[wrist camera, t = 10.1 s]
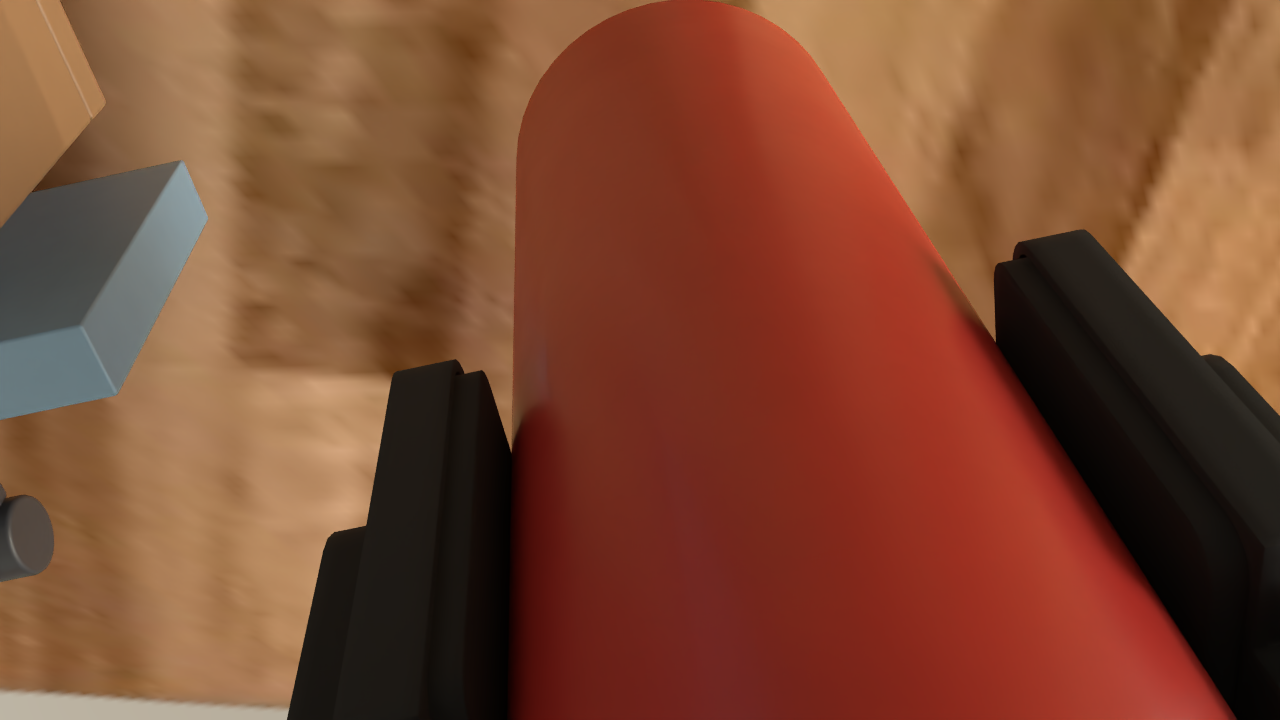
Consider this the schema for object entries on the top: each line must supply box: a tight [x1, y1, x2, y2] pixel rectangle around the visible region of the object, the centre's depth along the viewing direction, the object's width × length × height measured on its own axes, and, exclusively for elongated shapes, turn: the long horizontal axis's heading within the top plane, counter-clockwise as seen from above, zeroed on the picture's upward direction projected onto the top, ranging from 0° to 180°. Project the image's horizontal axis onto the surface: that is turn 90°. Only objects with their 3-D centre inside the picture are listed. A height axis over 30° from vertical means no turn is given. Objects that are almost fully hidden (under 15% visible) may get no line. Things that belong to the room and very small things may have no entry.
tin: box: [507, 0, 1237, 720], centre depth 11 cm, size 4×4×12 cm
